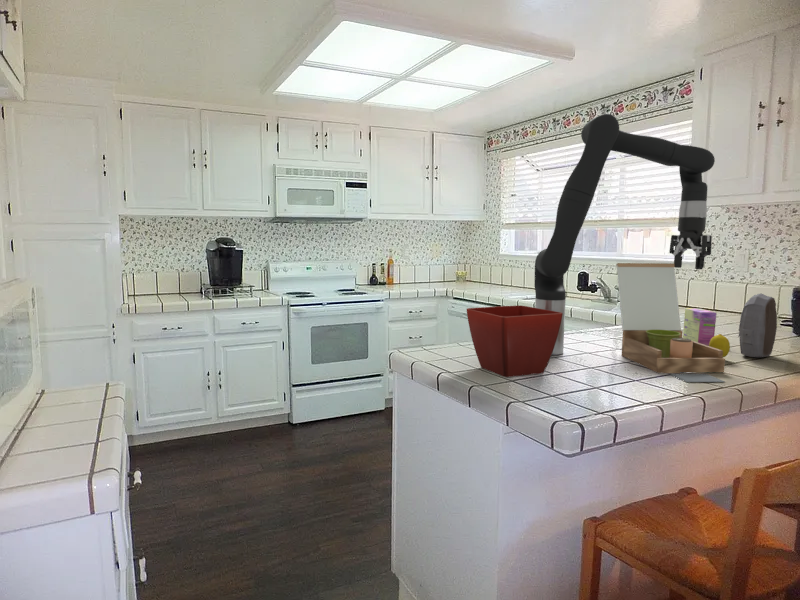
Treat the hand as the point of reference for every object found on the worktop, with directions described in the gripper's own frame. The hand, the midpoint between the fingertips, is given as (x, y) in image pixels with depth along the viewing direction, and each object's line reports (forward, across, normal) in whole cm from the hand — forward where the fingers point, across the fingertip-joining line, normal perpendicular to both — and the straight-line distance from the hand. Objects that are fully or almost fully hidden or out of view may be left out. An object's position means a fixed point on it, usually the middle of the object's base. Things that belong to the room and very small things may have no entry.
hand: (688, 268), depth 169 cm
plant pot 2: (+28, +6, -13) cm, 31 cm away
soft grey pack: (+27, +8, +20) cm, 35 cm away
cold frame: (+28, +11, -14) cm, 33 cm away
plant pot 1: (+28, +8, -64) cm, 70 cm away
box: (+28, -14, +20) cm, 37 cm away
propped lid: (+28, -6, -10) cm, 30 cm away
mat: (+27, +27, -20) cm, 43 cm away
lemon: (+28, +10, +5) cm, 30 cm away
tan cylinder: (+28, +16, -15) cm, 35 cm away
